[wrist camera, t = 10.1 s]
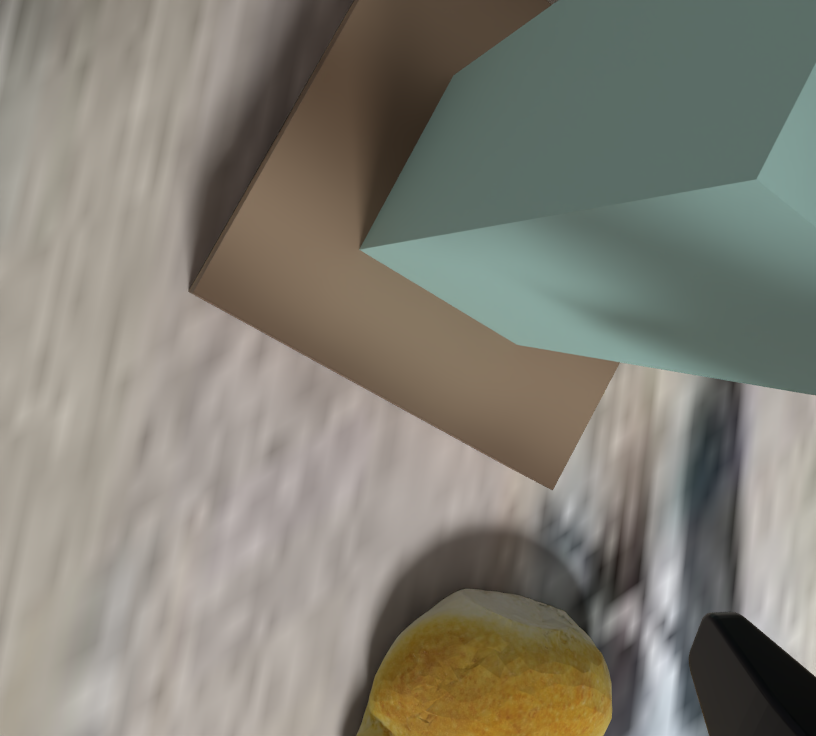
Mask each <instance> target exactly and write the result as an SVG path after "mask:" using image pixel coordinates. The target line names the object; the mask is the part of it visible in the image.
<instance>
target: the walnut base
mask: <svg viewBox="0 0 816 736" xmlns="http://www.w3.org/2000/svg"><path fill="white" fill-rule="evenodd" d="M550 6H551V4H550V3H549V2H548V1H547V0H354V1H353V3H352V5H351V7H350V8H349V10H348V12H347V14H346V16H345V17H344V19H343V21H342V23H341V24H340V26H339V28H338V30H337V31H336V33H335V35H334V37H333V38H332V40H331V42H330V44H329V45H328V47H327V49H326V51H325V52H324V54H323V56H322V58H321V59H320V61H319V63H318V65H317V66H316V68H315V70H314V72H313V74H312V75H311V77H310V79H309V81H308V82H307V84H306V86H305V88H304V89H303V91H302V93H301V95H300V96H299V98H298V100H297V102H296V103H295V105H294V107H293V109H292V110H291V112H290V114H289V116H288V117H287V119H286V121H285V123H284V124H283V126H282V128H281V130H280V132H279V133H278V135H277V137H276V139H275V140H274V142H273V144H272V146H271V147H270V149H269V151H268V153H267V154H266V156H265V158H264V160H263V161H262V163H261V165H260V167H259V168H258V170H257V172H256V174H255V175H254V177H253V179H252V181H251V182H250V184H249V186H248V188H247V190H246V191H245V193H244V195H243V197H242V198H241V200H240V202H239V204H238V205H237V207H236V209H235V211H234V212H233V214H232V216H231V218H230V219H229V221H228V223H227V225H226V226H225V228H224V230H223V232H222V233H221V235H220V237H219V239H218V240H217V242H216V244H215V246H214V248H213V249H212V251H211V253H210V255H209V256H208V258H207V260H206V262H205V263H204V265H203V267H202V269H201V270H200V272H199V274H198V276H197V277H196V279H195V281H194V283H193V284H192V286H191V288H190V290H189V291H188V292H190V293H192V294H194V295H195V296H197V297H199V298H201V299H203V300H204V301H206V302H208V303H210V304H212V305H214V306H215V307H217V308H219V309H221V310H223V311H225V312H226V313H228V314H230V315H232V316H234V317H235V318H237V319H239V320H241V321H243V322H245V323H246V324H248V325H250V326H252V327H254V328H256V329H257V330H259V331H261V332H263V333H265V334H266V335H268V336H270V337H272V338H274V339H276V340H277V341H279V342H281V343H283V344H285V345H287V346H288V347H290V348H292V349H294V350H296V351H297V352H299V353H301V354H303V355H305V356H307V357H308V358H310V359H312V360H314V361H316V362H317V363H319V364H321V365H323V366H325V367H327V368H328V369H330V370H332V371H334V372H336V373H338V374H339V375H341V376H343V377H345V378H347V379H348V380H350V381H352V382H354V383H356V384H358V385H359V386H361V387H363V388H365V389H367V390H369V391H370V392H372V393H374V394H376V395H378V396H379V397H381V398H383V399H385V400H387V401H389V402H390V403H392V404H394V405H396V406H398V407H400V408H401V409H403V410H405V411H407V412H409V413H410V414H412V415H414V416H416V417H418V418H420V419H421V420H423V421H425V422H427V423H429V424H431V425H432V426H434V427H436V428H438V429H440V430H441V431H443V432H445V433H447V434H449V435H451V436H452V437H454V438H456V439H458V440H460V441H462V442H463V443H465V444H467V445H469V446H471V447H472V448H474V449H476V450H478V451H480V452H482V453H483V454H485V455H487V456H489V457H491V458H493V459H494V460H496V461H498V462H500V463H502V464H503V465H505V466H507V467H509V468H511V469H513V470H515V471H517V472H519V473H520V474H522V475H524V476H526V477H528V478H530V479H532V480H534V481H536V482H538V483H540V484H541V485H543V486H545V487H547V488H549V489H551V490H553V489H554V487H555V485H556V483H557V481H558V479H559V477H560V475H561V474H562V472H563V470H564V468H565V466H566V464H567V462H568V460H569V458H570V456H571V455H572V453H573V451H574V449H575V447H576V445H577V443H578V441H579V439H580V437H581V436H582V434H583V432H584V430H585V428H586V426H587V424H588V422H589V420H590V418H591V416H592V415H593V413H594V411H595V409H596V407H597V405H598V403H599V401H600V399H601V397H602V396H603V394H604V392H605V390H606V388H607V386H608V384H609V382H610V380H611V378H612V377H613V375H614V373H615V371H616V369H617V367H618V365H619V363H620V362H616V361H610V360H604V359H598V358H592V357H586V356H580V355H574V354H568V353H562V352H556V351H551V350H545V349H539V348H533V347H527V346H521V345H516V344H515V343H513V342H511V341H510V340H508V339H506V338H505V337H503V336H502V335H500V334H498V333H497V332H495V331H493V330H492V329H490V328H488V327H487V326H485V325H483V324H482V323H480V322H478V321H477V320H475V319H473V318H472V317H470V316H468V315H467V314H465V313H463V312H462V311H460V310H458V309H457V308H455V307H453V306H452V305H450V304H448V303H447V302H445V301H444V300H442V299H440V298H439V297H437V296H435V295H434V294H432V293H430V292H429V291H427V290H425V289H424V288H422V287H420V286H419V285H417V284H415V283H414V282H412V281H410V280H409V279H407V278H405V277H404V276H402V275H400V274H399V273H397V272H395V271H394V270H392V269H390V268H389V267H387V266H386V265H384V264H382V263H381V262H379V261H377V260H376V259H374V258H372V257H371V256H369V255H367V254H366V253H364V252H362V251H361V250H359V249H360V247H361V245H362V244H363V242H364V240H365V238H366V236H367V234H368V232H369V231H370V229H371V227H372V225H373V223H374V221H375V219H376V218H377V216H378V214H379V212H380V210H381V208H382V207H383V205H384V203H385V201H386V199H387V197H388V195H389V194H390V192H391V190H392V188H393V186H394V184H395V183H396V181H397V179H398V177H399V175H400V173H401V171H402V170H403V168H404V166H405V164H406V162H407V160H408V158H409V157H410V155H411V153H412V151H413V149H414V147H415V146H416V144H417V142H418V140H419V138H420V136H421V134H422V133H423V131H424V129H425V127H426V125H427V123H428V122H429V120H430V118H431V116H432V114H433V112H434V110H435V109H436V107H437V105H438V103H439V101H440V99H441V97H442V96H443V94H444V92H445V90H446V88H447V86H448V85H449V83H450V81H451V79H452V77H453V75H455V74H456V73H458V72H459V71H460V70H462V69H463V68H465V67H466V66H467V65H469V64H470V63H472V62H473V61H474V60H476V59H477V58H479V57H480V56H481V55H483V54H484V53H486V52H487V51H488V50H490V49H491V48H492V47H494V46H495V45H497V44H498V43H499V42H501V41H502V40H504V39H505V38H506V37H508V36H509V35H511V34H512V33H513V32H515V31H516V30H518V29H519V28H520V27H522V26H523V25H525V24H526V23H527V22H529V21H530V20H532V19H533V18H534V17H536V16H537V15H539V14H540V13H541V12H543V11H544V10H546V9H547V8H548V7H550Z"/></svg>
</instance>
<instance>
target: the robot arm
mask: <svg viewBox="0 0 816 736" xmlns="http://www.w3.org/2000/svg"><path fill="white" fill-rule="evenodd" d="M689 666H690V671H691V675H692V678H693V682H694V685H695V689H696V692H697V695H698V699H699V702H700V706H701V709H702V712H703V716H704V719H705V723H706V726H707V729H708V733H709V736H816V677H815V676H814V675H813V674H812V673H810V672H809V671H808V670H807V669H806V668H804V667H803V666H802V665H801V664H800V663H798V662H797V661H796V660H795V659H794V658H792V657H791V656H790V655H789V654H788V653H787V652H785V651H784V650H783V649H782V648H781V647H779V646H778V645H777V644H776V643H775V642H773V641H772V640H771V639H770V638H769V637H767V636H766V635H765V634H764V633H763V632H761V631H760V630H759V629H758V628H757V627H756V626H754V625H753V624H752V623H751V622H750V621H748V620H747V619H746V618H745V617H743V616H742V615H740V614H738V613H736V612H716V613H708V614H706V615H705V616H704V617H703V619H702V621H701V624H700V626H699V629H698V631H697V634H696V637H695V639H694V642H693V645H692V647H691V650H690V654H689Z"/></svg>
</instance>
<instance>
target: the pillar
mask: <svg viewBox="0 0 816 736" xmlns="http://www.w3.org/2000/svg"><path fill="white" fill-rule="evenodd" d="M359 250H361V251H362V252H364V253H366V254H367V255H369V256H371V257H372V258H374V259H376V260H377V261H379V262H381V263H382V264H384V265H386V266H387V267H389V268H390V269H392V270H394V271H395V272H397V273H399V274H400V275H402V276H404V277H405V278H407V279H409V280H410V281H412V282H414V283H415V284H417V285H419V286H420V287H422V288H424V289H425V290H427V291H429V292H430V293H432V294H434V295H435V296H437V297H439V298H440V299H442V300H444V301H445V302H447V303H448V304H450V305H452V306H453V307H455V308H457V309H458V310H460V311H462V312H463V313H465V314H467V315H468V316H470V317H472V318H473V319H475V320H477V321H478V322H480V323H482V324H483V325H485V326H487V327H488V328H490V329H492V330H493V331H495V332H497V333H498V334H500V335H502V336H503V337H505V338H506V339H508V340H510V341H511V342H513V343H515V344H516V345H521V346H527V347H533V348H539V349H545V350H551V351H556V352H562V353H568V354H574V355H580V356H586V357H592V358H598V359H604V360H610V361H616V362H621V363H627V364H633V365H639V366H645V367H651V368H657V369H663V370H669V371H675V372H681V373H687V374H692V375H698V376H704V377H710V378H716V379H722V380H728V381H734V382H740V383H746V384H752V385H757V386H763V387H769V388H775V389H781V390H787V391H793V392H799V393H805V394H811V395H816V0H558V1H557V2H555V3H554V4H553V5H551V6H550V7H548V8H547V9H546V10H544V11H543V12H541V13H540V14H539V15H537V16H536V17H534V18H533V19H532V20H530V21H529V22H527V23H526V24H525V25H523V26H522V27H520V28H519V29H518V30H516V31H515V32H513V33H512V34H511V35H509V36H508V37H506V38H505V39H504V40H502V41H501V42H499V43H498V44H497V45H495V46H494V47H492V48H491V49H490V50H488V51H487V52H486V53H484V54H483V55H481V56H480V57H479V58H477V59H476V60H474V61H473V62H472V63H470V64H469V65H467V66H466V67H465V68H463V69H462V70H460V71H459V72H458V73H456V74H455V75H453V77H452V79H451V81H450V83H449V85H448V86H447V88H446V90H445V92H444V94H443V96H442V97H441V99H440V101H439V103H438V105H437V107H436V109H435V110H434V112H433V114H432V116H431V118H430V120H429V122H428V123H427V125H426V127H425V129H424V131H423V133H422V134H421V136H420V138H419V140H418V142H417V144H416V146H415V147H414V149H413V151H412V153H411V155H410V157H409V158H408V160H407V162H406V164H405V166H404V168H403V170H402V171H401V173H400V175H399V177H398V179H397V181H396V183H395V184H394V186H393V188H392V190H391V192H390V194H389V195H388V197H387V199H386V201H385V203H384V205H383V207H382V208H381V210H380V212H379V214H378V216H377V218H376V219H375V221H374V223H373V225H372V227H371V229H370V231H369V232H368V234H367V236H366V238H365V240H364V242H363V244H362V245H361V247H360V249H359Z"/></svg>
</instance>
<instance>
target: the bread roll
mask: <svg viewBox="0 0 816 736" xmlns="http://www.w3.org/2000/svg"><path fill="white" fill-rule="evenodd" d="M611 718H612V695H611V680H610V676H609V671H608V667H607V665H606V662H605V660H604V658H603V656H602V653H601V652H600V651H599V650H598V649H597V648H596V646H595V644H594V643H593V641H592V640H591V638H590V637H589V636H588V635H587V634H586V632H585V631H584V630H582V629H581V628H580V627H579V626H578V625H577V624H576V623H575V622H574V621H573V620H572V619H571V618H570V617H569V616H568V615H567V613H566V612H565V611H563V610H561V609H556V608H555V607H553V606H550V605H547V604H544V603H541V602H537V601H535V600H532V599H529V598H526V597H523V596H520V595H515V594H508V593H502V592H498V591H485V590H481V589H463V590H459V591H457V592H455V593H453V594H451V595H449V596H448V597H446V598H444V599H443V600H442V601H440V602H439V603H438V604H436V605H435V606H434V607H433V608H431V609H430V610H429V611H428V612H426V613H425V614H423V615H422V616H420V617H419V618H418V619H416V620H415V621H414V622H413V623H412V624H410V625H409V626H408V627H407V628H406V629H405V630H404V631H403V632H402V633H401V634H400V635H399V636H398V637H397V638H396V639H395V641H394V643H393V644H392V646H391V647H390V649H389V650H388V652H387V654H386V655H385V657H384V659H383V661H382V663H381V665H380V667H379V669H378V671H377V673H376V675H375V678H374V681H373V685H372V689H371V692H370V695H369V701H368V704H367V708H366V710H365V713H364V716H363V720H362V723H361V726H360V728H359V731H358V733H357V735H356V736H603V735H604V733H605V731H606V729H607V727H608V725H609V723H610V721H611Z"/></svg>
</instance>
